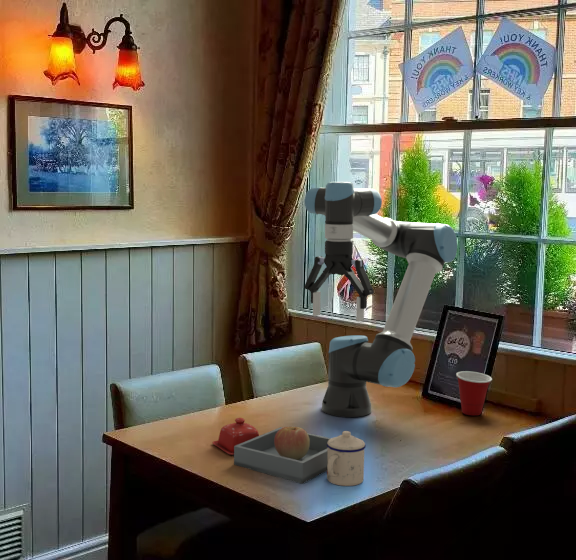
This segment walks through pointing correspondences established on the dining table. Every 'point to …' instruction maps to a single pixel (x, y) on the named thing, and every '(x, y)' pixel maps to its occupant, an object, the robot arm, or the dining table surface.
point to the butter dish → (235, 435)
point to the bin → (282, 458)
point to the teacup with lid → (345, 460)
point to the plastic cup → (472, 391)
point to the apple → (292, 442)
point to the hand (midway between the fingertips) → (338, 318)
